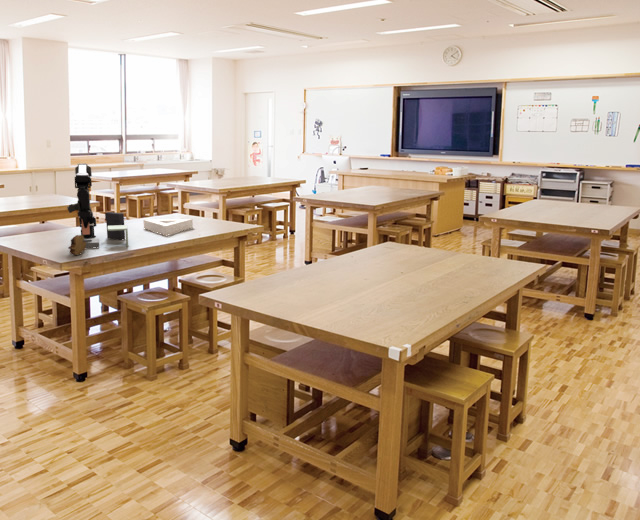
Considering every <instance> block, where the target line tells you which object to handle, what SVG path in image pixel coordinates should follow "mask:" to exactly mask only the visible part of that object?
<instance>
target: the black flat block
mask: <svg viewBox="0 0 640 520" xmlns="http://www.w3.org/2000/svg"><path fill="white" fill-rule="evenodd" d="M124 215H125V214H124V213H123V212H112V211H108V212H105V213H104V217H105V221H106V236H107V237H106V238H107V239H108V238H110V239H109V240H116V239H119V240H118V241H123V240H122V239H124V240H126V230H116V231H108V226H114V225H125V217H124Z"/></svg>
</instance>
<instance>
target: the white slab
mask: <svg viewBox="0 0 640 520" xmlns="http://www.w3.org/2000/svg"><path fill="white" fill-rule="evenodd" d="M193 222H194V221H193V219H192V218H184V219H183V218H181V219H179V218H177V219H174V218H173V219H172V218H171V219H170V218H168V219H167V218H166V219H165V218H164V219H143V229H144V228H145V229H144V230H146V229H148V230H147V231H149V230H151V231H150V232H152V231H154V232H153V233H155V232H158V233H157V234H159V233H161V234H160V235H162V234H164V235H163V236H165V235H167V236H169V235H168V234H170V235H173V234H172V233H174V234H177V233H180V231H181V232H183V230H184V231H187V230H186V229H188V230H190V229H189V228H191V229H193V228H194V225H193ZM176 232H177V233H176Z"/></svg>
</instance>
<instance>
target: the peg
mask: <svg viewBox="0 0 640 520" xmlns="http://www.w3.org/2000/svg"><path fill="white" fill-rule="evenodd" d="M81 225H82V234H83V235H87V234H90V227H89V225H90V224H89V223H88V226H87V228H85V227H84V224H83V221H82V224H81Z"/></svg>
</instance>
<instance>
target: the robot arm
mask: <svg viewBox="0 0 640 520" xmlns="http://www.w3.org/2000/svg"><path fill="white" fill-rule="evenodd" d="M74 169H75V171H74V174H75V176H74V188H75V189H77V193H76V197H77V202H76V203H74V204H73V203H71V204H69V205H68V206H67V207H66V209H67V210H68V211H67V212H68V213H69V214H71V213H73V212H75V211H77V217H78V224H79V228H81V229H80V235H83V234H82V221H83V224H84V227H85V228H87V226H88V223H89V227H90V234H87V235H83V236H84V239H91V238H96V237H97V236H96V235H95V227H97V218H96V217H95V216H94V212H93V211H92V207H91V199H90V198H91V196H90V188H91V187H92V176H93V175H92V167H91V166H89V165H88V164H87V163H77V166H75V168H74ZM90 237H91V238H90Z"/></svg>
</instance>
